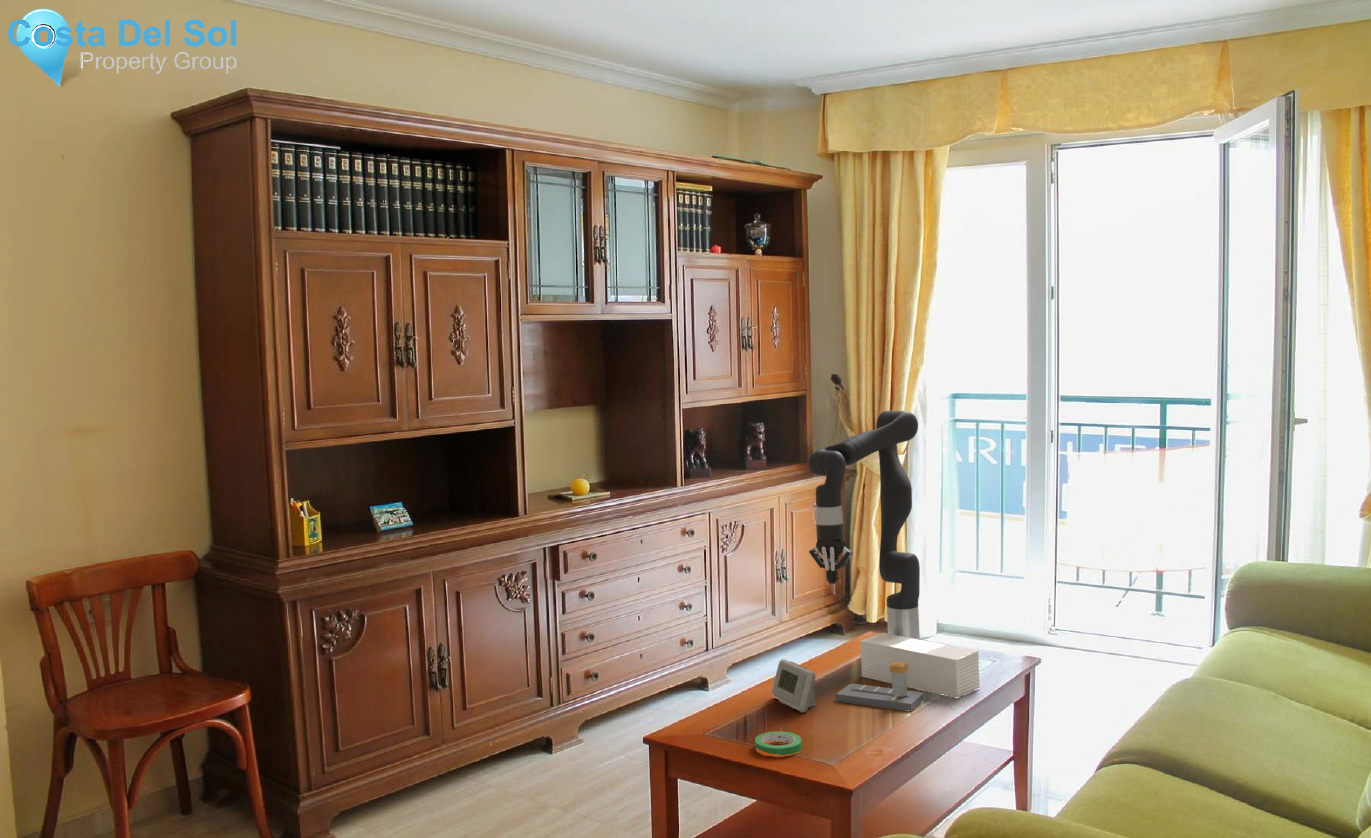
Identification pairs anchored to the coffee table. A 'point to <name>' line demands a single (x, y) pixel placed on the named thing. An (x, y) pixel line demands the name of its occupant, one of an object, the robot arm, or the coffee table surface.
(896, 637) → the stack of papers
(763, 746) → the tape roll
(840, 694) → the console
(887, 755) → the coffee table surface
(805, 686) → the digital clock
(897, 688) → the fader
